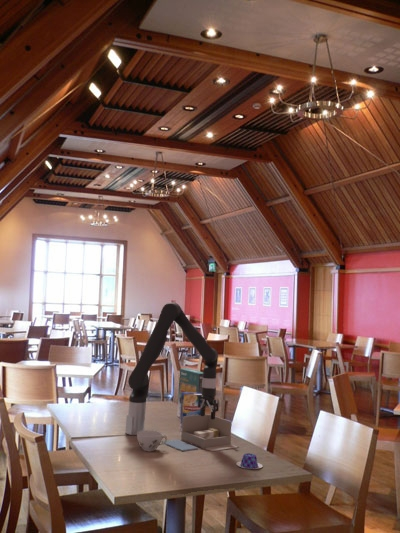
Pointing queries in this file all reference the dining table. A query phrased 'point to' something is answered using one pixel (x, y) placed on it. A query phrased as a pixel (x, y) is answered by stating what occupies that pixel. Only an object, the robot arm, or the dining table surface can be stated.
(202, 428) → the carton
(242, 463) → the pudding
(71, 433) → the dining table surface
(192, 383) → the cake mix box
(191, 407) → the beverage box
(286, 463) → the dining table surface
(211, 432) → the block
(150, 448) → the teacup
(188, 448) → the mat
